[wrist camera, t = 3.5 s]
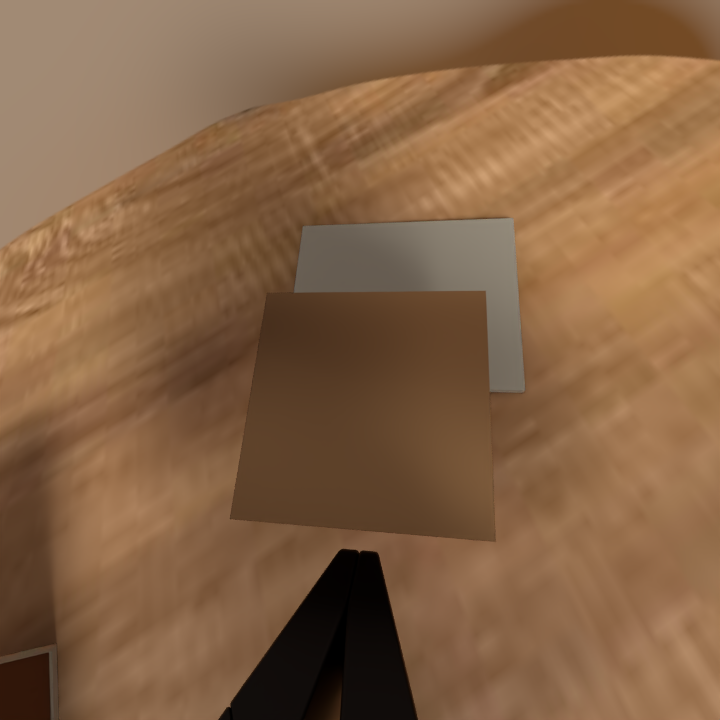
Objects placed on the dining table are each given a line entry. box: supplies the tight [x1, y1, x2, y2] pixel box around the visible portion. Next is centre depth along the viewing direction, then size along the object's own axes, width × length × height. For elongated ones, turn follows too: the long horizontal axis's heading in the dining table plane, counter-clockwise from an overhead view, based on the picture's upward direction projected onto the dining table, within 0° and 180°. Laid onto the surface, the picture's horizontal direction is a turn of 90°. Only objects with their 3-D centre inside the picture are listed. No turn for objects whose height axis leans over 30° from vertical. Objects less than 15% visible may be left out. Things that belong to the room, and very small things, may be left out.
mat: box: [294, 218, 525, 393], centre depth 20 cm, size 9×11×1 cm
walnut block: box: [230, 291, 496, 542], centre depth 13 cm, size 5×5×10 cm
